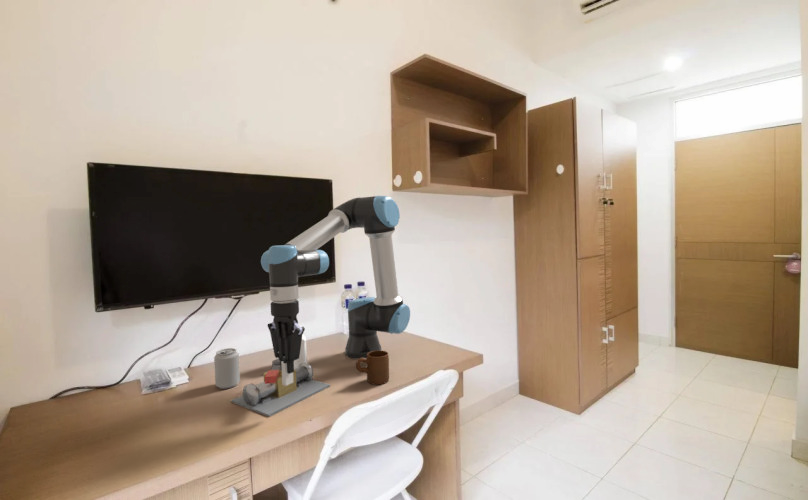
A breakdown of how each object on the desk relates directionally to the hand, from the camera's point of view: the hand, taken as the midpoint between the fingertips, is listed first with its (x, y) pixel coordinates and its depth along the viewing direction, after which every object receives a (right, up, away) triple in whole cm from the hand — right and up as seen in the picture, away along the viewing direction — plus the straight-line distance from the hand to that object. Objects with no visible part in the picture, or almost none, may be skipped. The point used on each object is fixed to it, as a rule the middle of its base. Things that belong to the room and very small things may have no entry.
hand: (287, 383), depth 108 cm
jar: (-11, -7, +40) cm, 42 cm away
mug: (+22, -7, +22) cm, 32 cm away
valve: (-7, -8, +15) cm, 18 cm away
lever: (-6, 0, +9) cm, 11 cm away
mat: (-6, -8, +14) cm, 17 cm away
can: (-27, -9, +22) cm, 36 cm away
